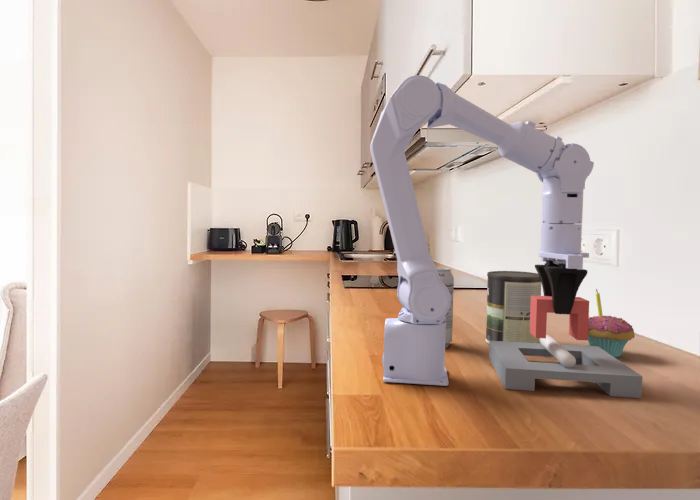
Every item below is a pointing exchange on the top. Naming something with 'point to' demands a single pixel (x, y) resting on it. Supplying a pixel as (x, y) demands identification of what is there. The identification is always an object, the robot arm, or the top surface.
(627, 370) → the grey frame with dowel
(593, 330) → the cupcake
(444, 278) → the energy drink can
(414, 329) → the robot arm
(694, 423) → the top surface
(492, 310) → the coffee can
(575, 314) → the red arch block
